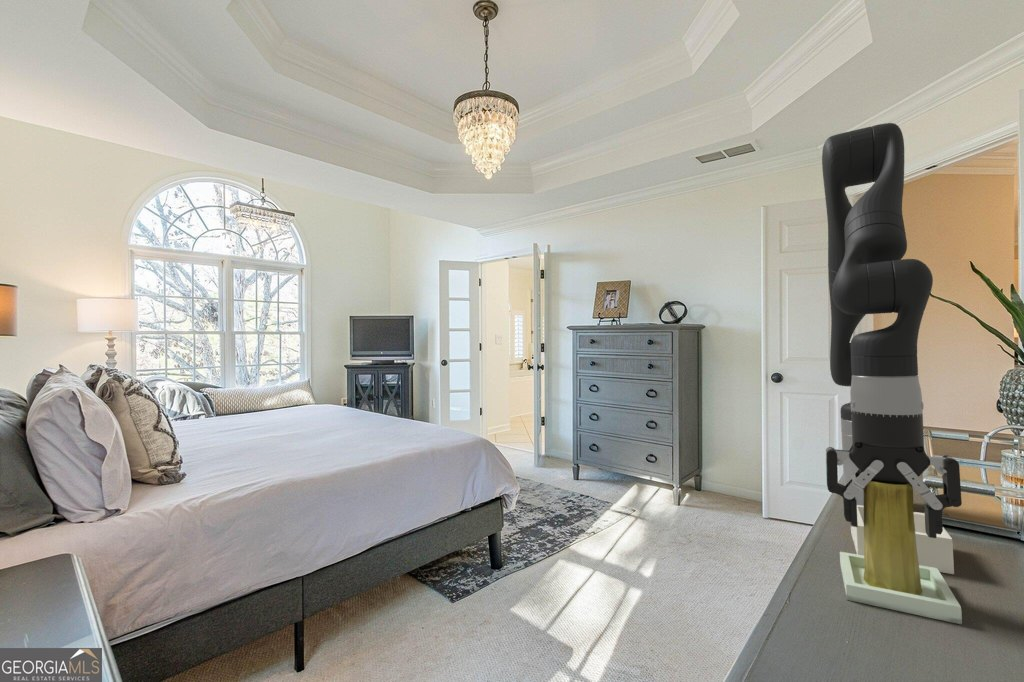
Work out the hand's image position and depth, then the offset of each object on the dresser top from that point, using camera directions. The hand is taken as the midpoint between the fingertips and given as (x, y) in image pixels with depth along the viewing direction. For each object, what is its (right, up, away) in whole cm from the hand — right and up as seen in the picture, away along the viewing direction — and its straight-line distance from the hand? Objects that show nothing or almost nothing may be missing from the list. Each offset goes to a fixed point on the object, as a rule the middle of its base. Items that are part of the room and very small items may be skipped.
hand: (890, 530), depth 62 cm
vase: (0, -8, 0) cm, 8 cm away
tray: (0, -8, 0) cm, 8 cm away
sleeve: (+10, -8, +11) cm, 17 cm away
